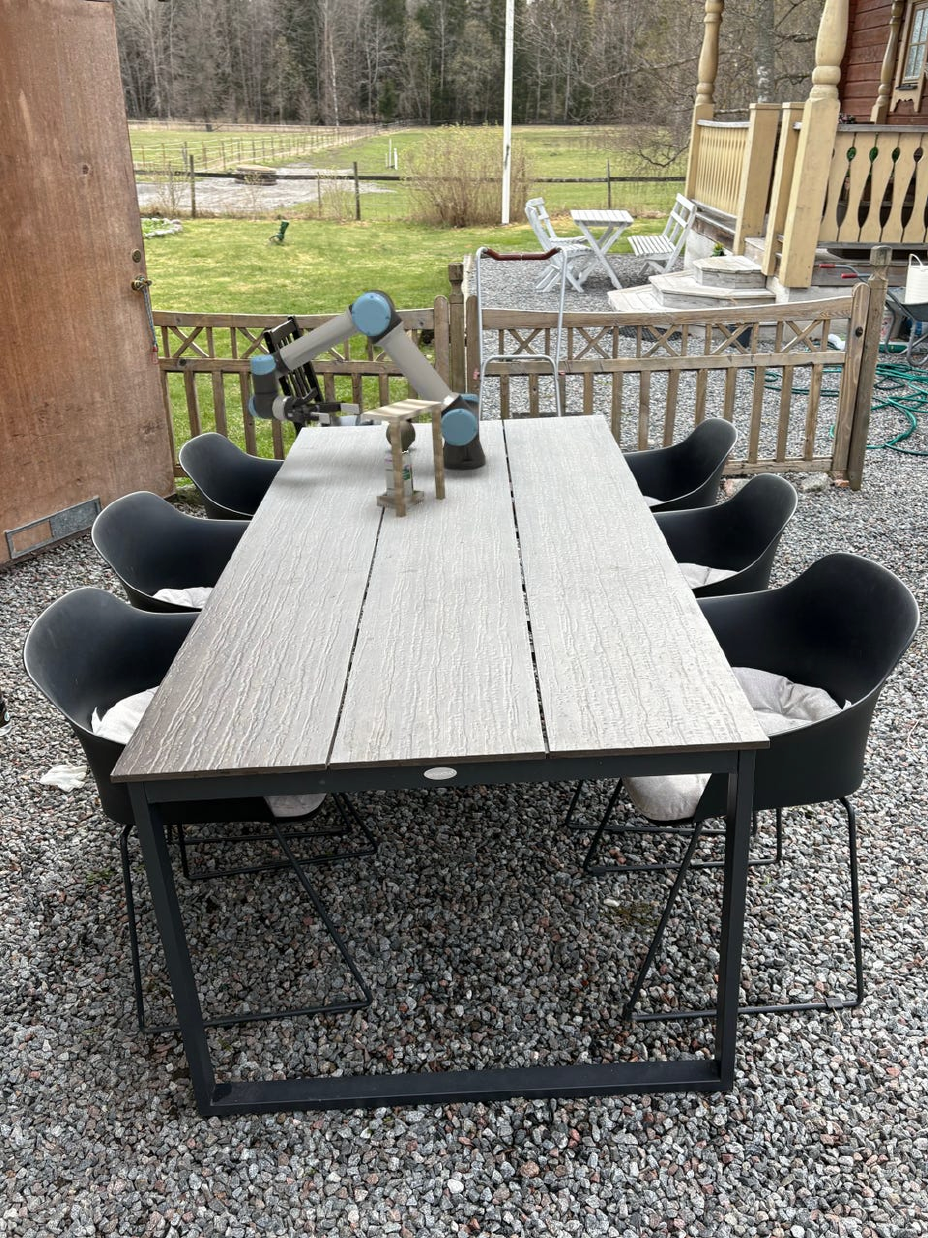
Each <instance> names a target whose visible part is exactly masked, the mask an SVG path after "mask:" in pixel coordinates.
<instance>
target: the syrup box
mask: <svg viewBox="0 0 928 1238" xmlns="http://www.w3.org/2000/svg"><path fill="white" fill-rule="evenodd" d="M402 459H403V474H404V489H405V498H406V497H409V496H411V495H413V494H414V490H415V489H414V479H413V477H414V476H413V466H412V465H413V463H412V455H411V454H410V453H402ZM383 461H384V463H383V464H384V473H385V475H384V476H385V485H386V492H387V496H388V497H394V498H395V490H394V476H393V462H392V454H391V455H388V456H384V457H383Z"/></svg>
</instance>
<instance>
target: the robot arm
mask: <svg viewBox="0 0 928 1238" xmlns="http://www.w3.org/2000/svg"><path fill="white" fill-rule="evenodd" d="M395 309H396V308H395V303H394V300H393V299H392V298H391V296H390V295H389V294H388V293H387V292H385V291H384V290H380V289H370V290H367V291H365V292H364V293H363V294H361V295H360V296H358V298H357V299H356V300H355V301H354V302H352V303H351V304H349V305H347V307H346V310H345V311H344V312H341V313H340V314H338V315H337V316H335V317H334V318H332V319H330V320H328V321H326V322H325V323H323V324H321V325H320V326H318V327H316V328H315V329H312V330H311V331H309V332H308V333H306V334H304V335H303V336H301V337H299V338H297V339H295V340H294V341H291V342H290V343H289V344H287V345H285V346H284V347H282V348H280V349H279V350H276V351H275V352H273V353H270V354H258V355H254V356H252V357H250V359H249V364H250V367H249V368H250V369H249V370H250V372H251V373H250V374H251V380H252V385H253V394H252V395H251V396H250V398H249V400H248V410H249V413H250V414H251V416H253V417H254V418H257V419H262V420H275V421H284V423H288V422H292V423H300V424H305V423H306V425H307V426H310V425H311V424H312V423H318V424H330V423H331V421H330V413H339V412H340V413H342V414H344V413H345V414H352V415H353V414H355V415H358V414H360V405H359V404H358V403H347V402H346V401H344V400H343V399H342V400H341V401H315V403H314V402H307V401H306V400H305V399H304V398H303V397H301V396H300V397H298V396H289V395H280V394H279V393H280V391H279V386H278V380H279V379H280V378H282V377H284V376H285V375H287V374H289V373H290V372H292V371H294V370H295V369H297V368H299V367H301V366H303V365H304V364H306V363H308V362H310V361H312V360H313V359H315V358H316V357H318V356H321V355H322V354H324V353H326V352H327V351H329V350H331V349H333V348H334V347H336V346H338V345H340V344H341V343H343V342H345V341H347V340H349V339H350V338H352V337H354V336H356V335H358V334H362V335H364V336H365V337H366V338H367V339H368V340H369V341H370V342H371V344H372V345H373V346H374V347H380V348H381V349H382V350H383V352H384V353H385V354H386V355H387V356H388V358H389V359H390V360H391V362H392V363H393V364H394V365H395V367H396V368H397V369H398V370H399V371H400V373H401V374H402V376H403V377H404V378H405V379H406V380H407V382H408V383H409V384H410V386H411V387H412V388H413V389H414V390H415V392H416V393H417V395H419V397H420V398H421V400H425V401H435V402H442V408H441V422H442V439H444V440H443V441H444V442H443V462H444V469H448V470H449V469H450V470H471V469H477V468H480V467H483V466H484V465H486V462H487V459H486V455H485V452H484V449H483V446H482V443H481V439H480V411H479V404H480V402H479V396H478V395H477V394H475V393H474V394H473V393H459V392H455V391H454V392H453V391H452V390H451V389H450V388H449V386H448V385H447V384H446V382H445V381H444V380H443V379H442V378H441V377H442V376H440V375H439V373H438V372H437V371H436V369H435V368H434V367H433V366H432V364H431V363H430V362H429V361H428V359H427V358H426V357H425V355H424V354H423V353H422V351H421V350H420V349H419V348H418V346H417V345H416V344H415V342H414V341H413V339H411V338H410V336H409V335H408V333H407V332H406V330H405V329H404V320H403V318H401V316H400V315H399V313H398V312H397V311H396V310H395ZM429 417H430V419H431V420H432V417H431V411H430V412H429Z"/></svg>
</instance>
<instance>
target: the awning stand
mask: <svg viewBox="0 0 928 1238" xmlns="http://www.w3.org/2000/svg"><path fill="white" fill-rule="evenodd" d="M441 408H442V402H435V401H425V400H423V399H413V398H407V399H404V400H400V401H397V402H394V403H392V404H391V403H390V404H388V405H385V406H382V407H381V406H380V407H378V408H377V407H376V408H375V409H373V410H372V409H370V410H368V411H364V412H361V414H362V419H364V420H372V421H381V422H388V423H389V422H390V423H389V424H390V434H391V444H390V447H391V452H392V454H391V455H392V462H393V476H394V490H395V498H394V497H388V496H387V491H385V492H383V493H380V494H377V495H376V506H377V505H378V506H377V507H382V506H383V507H384V508H387V507H388V508H389V509H394V508H395V509H394V510H395V513H396V514H395V516H396V518H397V517H399V518H404V517H406V516H407V510H408V508H409V509H410V507H411V508H413V507H415V506H417V504H418V505H420V504H422V503H425V502H426V501H425V500H426V498H425V491H424V490H418V489H417V490H416V489H414V494H413V495H411V496H409V497H406V498H405V489H404V474H403V459H402V444H401V429H400V421H406V420H407V419H411V418H415V417H417V416H421V415H424V414H426V413H430V411H431V417H432V419H431V432H432V433H431V434H432V450H433V467H434V470H433V471H434V485H435V487H434V488H435V499H436V500H441V501H442V500H444V499H446V485H445V484H446V483H445V468H444V462H443V446H444V442H443V437H442V422H441ZM431 417H430V418H431ZM421 502H422V503H421ZM419 503H420V504H419ZM414 505H415V506H414ZM412 506H413V507H412Z"/></svg>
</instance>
